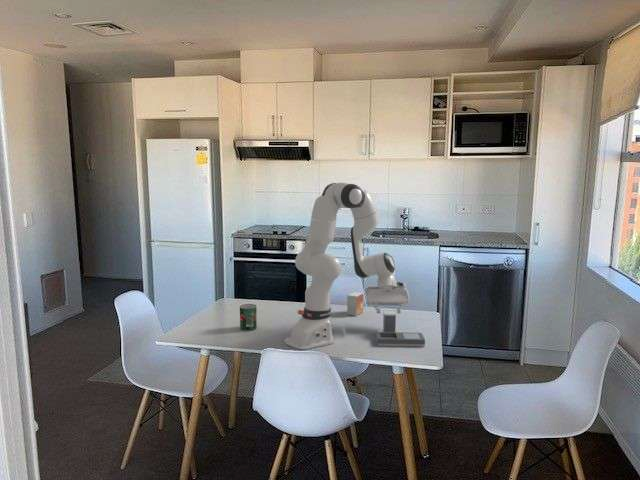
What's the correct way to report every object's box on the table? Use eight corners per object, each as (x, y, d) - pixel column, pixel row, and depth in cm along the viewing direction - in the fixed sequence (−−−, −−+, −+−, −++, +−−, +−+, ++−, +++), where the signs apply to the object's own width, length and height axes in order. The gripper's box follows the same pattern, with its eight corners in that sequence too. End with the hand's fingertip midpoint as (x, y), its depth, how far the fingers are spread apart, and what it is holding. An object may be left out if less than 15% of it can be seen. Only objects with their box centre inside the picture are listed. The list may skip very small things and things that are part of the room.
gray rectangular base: (377, 346, 208) (377, 339, 208) (375, 339, 217) (376, 332, 217) (424, 347, 208) (425, 339, 207) (421, 340, 217) (421, 332, 216)
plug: (384, 335, 221) (384, 314, 219) (383, 331, 226) (383, 311, 224) (395, 335, 220) (395, 314, 219) (393, 332, 225) (394, 311, 224)
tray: (378, 338, 218) (379, 337, 218) (377, 331, 228) (377, 330, 228) (401, 339, 218) (401, 337, 218) (398, 331, 228) (398, 330, 228)
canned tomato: (236, 328, 231) (236, 306, 230) (249, 324, 237) (249, 302, 235) (247, 332, 226) (246, 309, 224) (260, 328, 232) (259, 306, 230)
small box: (356, 316, 251) (356, 296, 249) (346, 314, 254) (347, 295, 252) (363, 312, 258) (363, 293, 256) (354, 310, 261) (354, 291, 259)
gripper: (365, 283, 231) (366, 309, 223) (408, 283, 231) (411, 309, 222) (364, 290, 236) (365, 315, 228) (407, 290, 236) (409, 316, 228)
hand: (388, 312), depth 225 cm, fingers open, 8 cm apart
